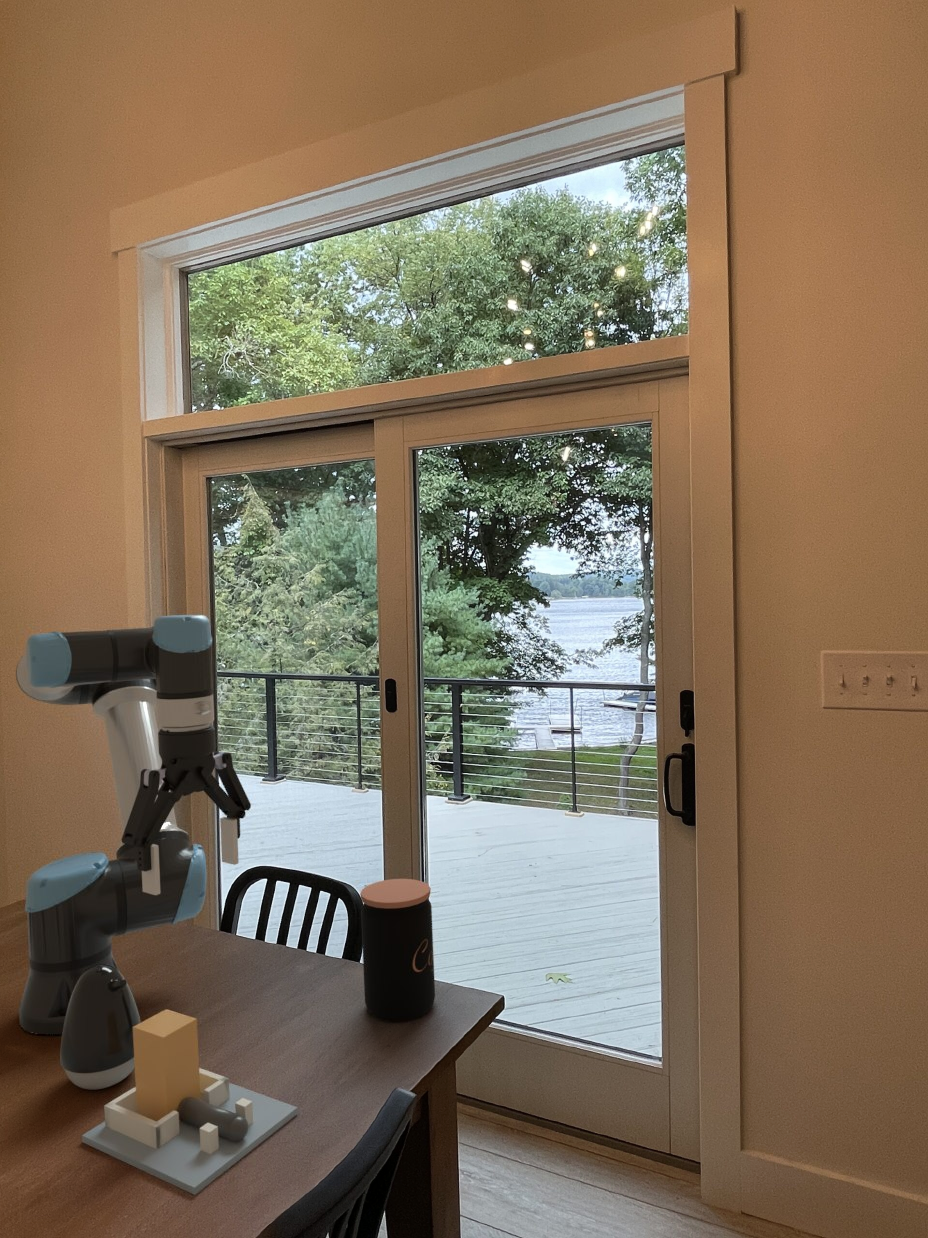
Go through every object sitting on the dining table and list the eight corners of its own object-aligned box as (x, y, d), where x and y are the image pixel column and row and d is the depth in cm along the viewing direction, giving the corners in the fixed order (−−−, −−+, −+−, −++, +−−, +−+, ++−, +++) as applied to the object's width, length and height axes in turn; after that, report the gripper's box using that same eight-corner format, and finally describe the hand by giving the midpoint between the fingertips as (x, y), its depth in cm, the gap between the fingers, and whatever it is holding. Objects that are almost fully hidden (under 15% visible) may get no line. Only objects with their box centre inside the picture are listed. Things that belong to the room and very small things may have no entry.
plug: (137, 1116, 104) (132, 1027, 104) (170, 1095, 108) (166, 1009, 108) (229, 1155, 96) (224, 1058, 96) (261, 1131, 100) (257, 1038, 100)
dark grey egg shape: (94, 1110, 107) (88, 990, 107) (45, 1087, 113) (39, 973, 112) (162, 1070, 116) (156, 958, 115) (113, 1051, 121) (108, 944, 121)
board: (82, 1142, 101) (80, 1114, 101) (189, 1074, 114) (188, 1050, 114) (194, 1195, 91) (193, 1164, 91) (297, 1114, 105) (296, 1087, 105)
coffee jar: (425, 1026, 125) (420, 904, 124) (355, 1022, 127) (350, 901, 126) (442, 992, 135) (437, 879, 135) (377, 989, 137) (372, 877, 137)
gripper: (124, 745, 107) (132, 912, 108) (271, 714, 128) (276, 855, 129) (88, 739, 111) (96, 901, 112) (236, 711, 132) (241, 847, 133)
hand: (192, 877), depth 120 cm, fingers open, 13 cm apart
